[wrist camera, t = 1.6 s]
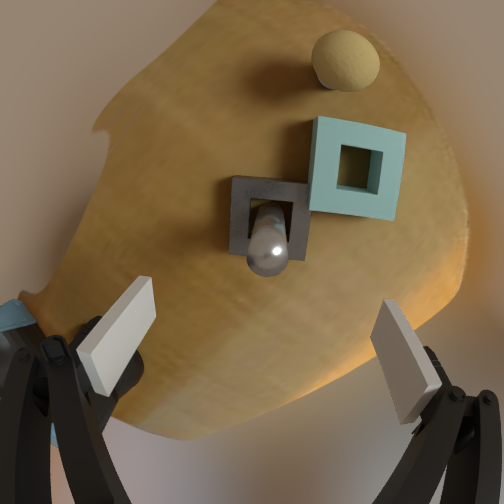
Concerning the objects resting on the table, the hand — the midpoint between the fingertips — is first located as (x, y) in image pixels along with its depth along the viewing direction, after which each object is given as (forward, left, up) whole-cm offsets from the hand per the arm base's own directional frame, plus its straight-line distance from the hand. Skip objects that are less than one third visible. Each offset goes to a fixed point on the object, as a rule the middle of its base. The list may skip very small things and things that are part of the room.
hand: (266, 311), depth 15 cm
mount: (0, 0, -20) cm, 20 cm away
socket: (+9, +7, -20) cm, 23 cm away
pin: (0, 0, -20) cm, 20 cm away
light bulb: (+6, +18, -20) cm, 28 cm away
